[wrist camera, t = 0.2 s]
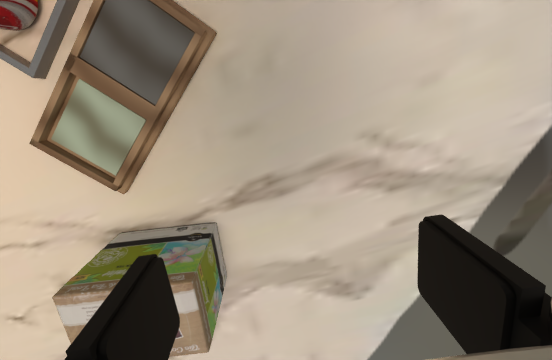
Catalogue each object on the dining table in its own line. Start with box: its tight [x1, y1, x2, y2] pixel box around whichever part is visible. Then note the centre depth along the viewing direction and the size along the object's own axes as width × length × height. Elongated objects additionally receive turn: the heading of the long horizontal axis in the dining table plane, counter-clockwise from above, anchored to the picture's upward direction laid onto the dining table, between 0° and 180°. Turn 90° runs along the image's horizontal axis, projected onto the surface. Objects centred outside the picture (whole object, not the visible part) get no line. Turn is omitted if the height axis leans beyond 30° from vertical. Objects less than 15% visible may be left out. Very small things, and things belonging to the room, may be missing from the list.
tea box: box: [52, 223, 227, 357], centre depth 38 cm, size 15×10×15 cm
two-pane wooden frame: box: [30, 0, 217, 194], centre depth 36 cm, size 25×13×3 cm, turn 146°
